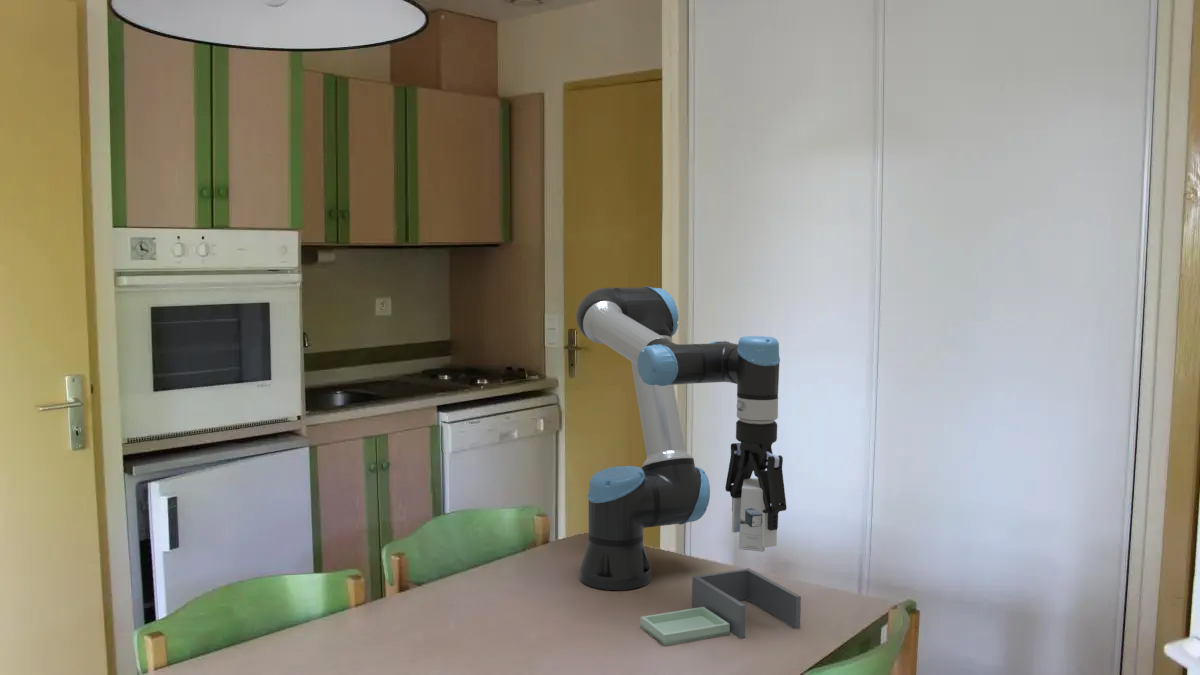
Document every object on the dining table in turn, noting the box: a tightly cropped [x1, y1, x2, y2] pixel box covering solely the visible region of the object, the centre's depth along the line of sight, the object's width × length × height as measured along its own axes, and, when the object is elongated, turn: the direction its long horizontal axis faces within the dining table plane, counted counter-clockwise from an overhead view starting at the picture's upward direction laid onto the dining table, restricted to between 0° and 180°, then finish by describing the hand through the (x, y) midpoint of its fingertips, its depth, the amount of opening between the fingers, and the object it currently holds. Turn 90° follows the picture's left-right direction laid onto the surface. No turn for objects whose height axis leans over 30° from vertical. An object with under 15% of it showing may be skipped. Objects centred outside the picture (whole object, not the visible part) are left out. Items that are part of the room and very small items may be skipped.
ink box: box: [738, 477, 766, 553], centre depth 178 cm, size 9×5×12 cm, turn 168°
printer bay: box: [691, 568, 802, 640], centre depth 181 cm, size 18×13×6 cm
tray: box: [639, 607, 731, 647], centre depth 174 cm, size 9×13×2 cm
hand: (753, 538), depth 178 cm, fingers closed on ink box, 9 cm apart
